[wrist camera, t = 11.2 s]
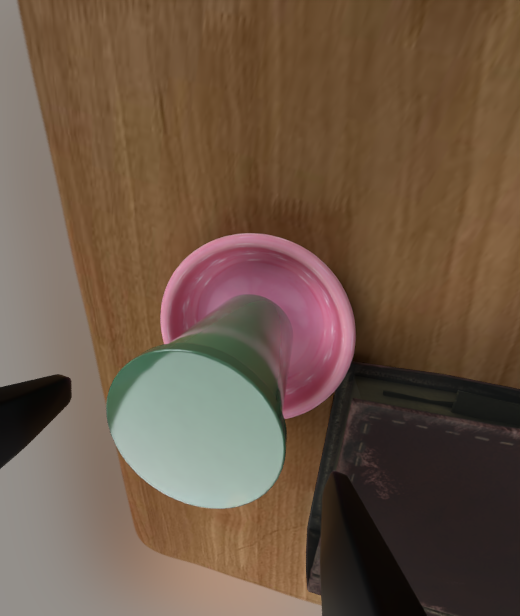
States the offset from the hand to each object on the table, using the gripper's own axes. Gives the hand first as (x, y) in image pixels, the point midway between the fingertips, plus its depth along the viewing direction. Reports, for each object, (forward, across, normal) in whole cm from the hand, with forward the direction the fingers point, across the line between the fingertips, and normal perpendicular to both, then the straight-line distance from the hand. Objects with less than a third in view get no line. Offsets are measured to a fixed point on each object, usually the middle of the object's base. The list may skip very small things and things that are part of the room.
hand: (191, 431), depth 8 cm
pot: (+8, 0, 0) cm, 8 cm away
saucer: (+11, 0, 0) cm, 11 cm away
